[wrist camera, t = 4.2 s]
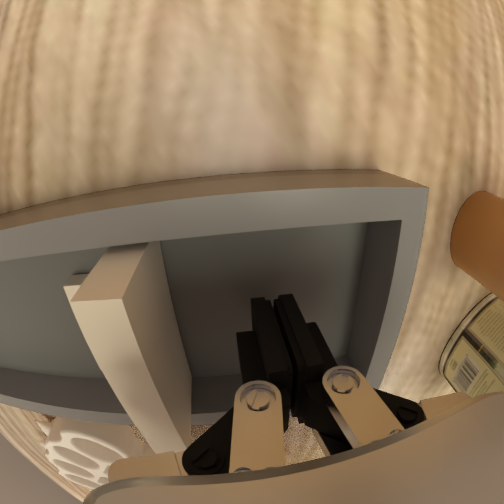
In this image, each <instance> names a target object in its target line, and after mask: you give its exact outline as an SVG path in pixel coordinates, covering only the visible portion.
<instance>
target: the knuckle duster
mask: <svg viewBox="0 0 504 504" xmlns="http://www.w3.org/2000/svg"><path fill="white" fill-rule="evenodd" d="M35 421H36V422H37V424H38V425H39V426H40V428H41V429H42V430H43V432H44V433H45V434H46V435H47V436H46V439H45V440H43V441H38V442H39V443H40V444H41V445H42V446H43V447H44V448H45V449H46V451H45V456H46V457H47V458H48V460H49V461H50V462H51V463H52V464H53V465H55V466H56V467H57V468H58V473H59V474H60V475H61V476H63V477H64V478H66V479H68V480H70V481H72V482H74V483H76V484H79V485H81V486H84V487H87V488H91V489H95V488H97V487H99V486H101V485H104V484H106V483H109V480H108V469H109V467H110V465H111V464H112V463H113V462H115V461H116V460H119V459H123V458H132V457H139V456H146V455H153V454H156V453H155V452H154V451H153V449H152V448H151V447H150V445H149V444H148V443H145V442H143V441H141V440H140V439H138V438H137V437H136V436H135V435H134V430H133V429H132V427H131V426H130V425H118V424H107V423H97V422H89V421H81V420H74V419H68V418H62V417H55V418H54V419H53V420H52V421H51V422H43V421H37V420H35Z"/></svg>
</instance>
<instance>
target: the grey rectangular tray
mask: <svg viewBox="0 0 504 504" xmlns="http://www.w3.org/2000/svg"><path fill="white" fill-rule="evenodd" d="M428 192H429V187H426V186H423V185H421V184H418V183H415V182H413V181H410V180H407V179H404V178H401V177H398V176H396V175H393V174H390V173H387V172H383V171H380V170H297V171H274V172H257V173H242V174H230V175H218V176H208V177H198V178H189V179H181V180H172V181H165V182H157V183H150V184H143V185H137V186H130V187H124V188H118V189H112V190H107V191H101V192H96V193H90V194H85V195H80V196H75V197H71V198H66V199H61V200H57V201H52V202H48V203H44V204H40V205H36V206H32V207H28V208H24V209H20V210H16V211H12V212H9V213H5V214H2V215H0V403H3V404H6V405H10V406H13V407H17V408H21V409H25V410H29V411H33V412H37V413H42V414H47V415H52V416H57V417H62V418H68V419H74V420H81V421H89V422H97V423H107V424H118V425H134V426H135V424H134V423H133V421H132V420H131V418H130V417H129V415H128V414H127V412H126V411H125V409H124V408H123V406H122V404H121V403H120V401H119V400H118V398H117V396H116V395H115V393H114V391H113V390H112V388H111V386H110V384H109V383H108V381H107V379H106V377H105V375H104V374H103V372H102V370H101V369H100V368H99V366H98V364H97V362H96V360H95V358H94V356H93V354H92V352H91V350H90V348H89V346H88V344H87V342H86V340H85V338H84V335H83V333H82V331H81V329H80V327H79V324H78V322H77V320H76V317H75V315H74V313H73V310H72V308H71V305H70V303H69V300H68V298H67V295H66V293H65V290H64V287H63V286H64V285H65V283H66V282H67V281H68V280H69V278H70V277H71V276H72V275H78V274H89V273H90V272H91V270H92V269H93V268H94V266H95V265H96V264H97V262H98V261H99V260H100V258H101V257H102V256H103V254H104V253H105V252H106V250H107V249H108V248H109V247H111V246H119V245H127V244H136V243H145V242H153V241H160V246H161V252H162V257H163V262H164V267H165V272H166V277H167V281H168V286H169V291H170V295H171V299H172V304H173V308H174V312H175V316H176V320H177V324H178V328H179V332H180V336H181V340H182V344H183V347H184V351H185V355H186V358H187V362H188V365H189V369H190V372H191V375H192V391H191V426H199V425H214V424H215V423H216V422H217V421H218V420H219V419H220V418H221V417H222V416H224V415H225V414H226V413H227V412H228V411H229V410H230V409H231V408H232V407H233V406H234V400H235V395H236V392H237V390H238V389H239V388H240V387H241V386H242V385H243V384H242V377H241V371H240V364H239V356H238V348H237V338H236V332H244V331H252V316H251V298H258V297H265V300H270V301H271V304H272V307H273V301H274V299H278V295H283V294H291V293H292V294H293V296H294V298H295V300H296V302H297V304H298V307H299V309H300V311H301V313H302V315H303V317H304V319H305V322H306V323H310V322H316V324H317V325H318V327H319V329H320V331H321V333H322V335H323V337H324V339H325V341H326V343H327V345H328V347H329V349H330V351H331V353H332V355H333V357H334V359H335V361H336V363H337V365H338V366H349V367H353V368H355V369H357V370H358V371H359V372H360V373H361V374H362V375H363V376H364V377H365V379H366V380H367V381H368V383H369V384H370V385H371V386H372V388H375V389H379V386H380V384H381V381H382V379H383V376H384V374H385V371H386V369H387V366H388V363H389V361H390V358H391V355H392V352H393V349H394V346H395V344H396V341H397V337H398V334H399V331H400V328H401V325H402V322H403V318H404V315H405V311H406V308H407V304H408V300H409V297H410V293H411V289H412V285H413V281H414V276H415V272H416V267H417V263H418V258H419V253H420V247H421V242H422V236H423V230H424V223H425V217H426V209H427V201H428ZM289 415H291V411H290V413H289Z"/></svg>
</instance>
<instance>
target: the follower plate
mask: <svg viewBox="0 0 504 504" xmlns="http://www.w3.org/2000/svg"><path fill="white" fill-rule="evenodd" d="M63 287H64V290H65V293H66V295H67V298H68V300H69V303H70V305H71V308H72V310H73V313H74V315H75V317H76V320H77V322H78V324H79V327H80V329H81V331H82V333H83V335H84V338H85V340H86V342H87V344H88V346H89V348H90V350H91V352H92V354H93V356H94V358H95V360H96V362H97V364H98V366H99V368H100V369H101V370H102V372H103V374H104V375H105V377H106V379H107V381H108V383H109V384H110V386H111V388H112V390H113V391H114V393H115V395H116V396H117V398H118V400H119V401H120V403H121V404H122V406H123V408H124V409H125V411H126V412H127V414H128V415H129V417H130V418H131V420H132V421H133V423H134V424H135V426H136V427H137V429H138V430H139V431H140V433H141V434H142V436H143V437H144V438H145V440H146V441H147V443H148V444H149V445H150V447H151V448H152V449H153V451H154V452H155V453H156V454H159V453H164V452H170V451H174V453H176V452H181V451H185V450H186V449H187V448H188V447H189V446H190V445H191V391H192V375H191V372H190V369H189V365H188V362H187V358H186V355H185V351H184V347H183V344H182V340H181V336H180V332H179V328H178V324H177V320H176V316H175V312H174V308H173V304H172V299H171V295H170V291H169V286H168V281H167V277H166V272H165V267H164V262H163V257H162V252H161V246H160V241H153V242H145V243H136V244H127V245H119V246H111V247H109V248H108V249H107V250H106V252H105V253H104V254H103V256H102V257H101V258H100V260H99V261H98V262H97V264H96V265H95V266H94V268H93V269H92V270H91V272H90V273H89V274H78V275H72V276H71V277H70V278H69V280H68V281H67V282H66V283H65V285H64V286H63Z"/></svg>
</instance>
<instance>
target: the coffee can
mask: <svg viewBox="0 0 504 504" xmlns="http://www.w3.org/2000/svg"><path fill="white" fill-rule="evenodd" d="M439 370H440V373H441V374H442V375H443V376H444V377H445V378H446V380H447V381H448V382H449V384H450V385H451V386H452V387H453V389H454V390H455V392H463V393H467V394H468V395H469V396H471V398H473V397H475V396H478V395H482V394H486V393H492V392H504V302H503V301H502V300H500V299H499V298H498V297H497V296H495V295H494V294H493V293H491V294H490V295H488V296H487V297H485V298H484V299H483V300H482V301H481V302H480V303H479V304H477V305H476V306H475V308H474V309H473V310H472V311H471V312H470V313H469V314H468V315H467V316H466V318H465V319H464V320H463V321H462V323H461V324H460V326H459V327H458V328H457V329H456V331H455V332H454V334H453V335H452V337H451V338H450V340H449V342H448V344H447V346H446V348H445V350H444V352H443V354H442V357H441V360H440V364H439Z"/></svg>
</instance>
